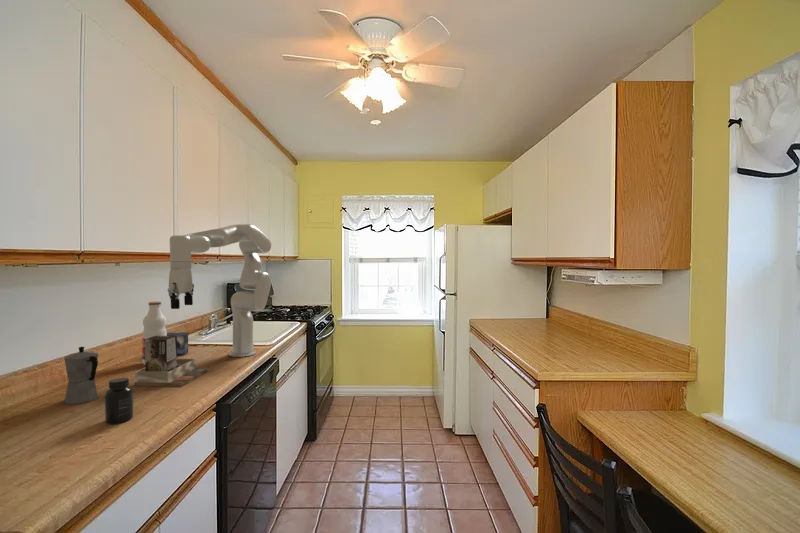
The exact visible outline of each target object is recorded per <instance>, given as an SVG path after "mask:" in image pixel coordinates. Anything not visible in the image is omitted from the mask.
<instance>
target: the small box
mask: <svg viewBox="0 0 800 533" xmlns="http://www.w3.org/2000/svg"><path fill="white" fill-rule="evenodd" d="M167 336H177V357H178V356H186V355H187V354H189V332H186V331H185V332H167Z"/></svg>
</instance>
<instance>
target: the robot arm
mask: <svg viewBox="0 0 800 533" xmlns="http://www.w3.org/2000/svg"><path fill="white" fill-rule="evenodd" d="M236 243H238V247H239V249H240V252H241V254H242V255H243V259H244V263H243V267H242V270H241V275H240V279H239V287H240V288H241V289H243V290H248V291H237V292H235V293H234V294H232V295H231V298H230V306H231V311H232V351H230V352H229V354H228V356H230V357H234V358H241V357H242V358H244V357H245V356H246V357H249V356H251V357H252V356H253V355H256V354H257V350H256V349H254V345H255V343H254V317H253V314H252V312H261V311H263V310H264V309H265V307H266V306H267V302H268V298H269V295H270V290H271V286H272V278H271V275H270V274H269V273H268V272H265V271H262V266H263V265H262V264H263V262H262V260H261V257H260V255H259V254H267V253H269V251H270V250H272V242H271V240H270V238H269V237H268V236H267V235H266V234H265V233H264V232H263V231H261V230H260V229H259V228H258V227H256V226H255V225H253V224H248V223H247V224H246V223H243V224H232V225H226V226H224V227H219V228H214V229H208V230H204V231H203V230H202V231H197V232H191V233H187V234H183V235H181V234H180V235H176V234H175V235H172V236H170V237H169V260H170V263H169V264H170V265H169V266H170V270H169V276H168V288H167V293H168V296H169V300H170V309H171V310H178V309H180V305H181V304H180V298H179V297H180V295H181V294H184V296H183V297H184V298H183V300H184V306H193V304H194V302H193V300H194V299H193V297H194V296H193V295H194V291H195V290H194V289H195V284H194V283H193V274H192V270H191V269H192V253H193V254H202V253H205V252H208V251H209V249H211V248H222V247H226V246H229V245H232V244H236Z"/></svg>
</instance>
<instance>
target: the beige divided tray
mask: <svg viewBox="0 0 800 533" xmlns="http://www.w3.org/2000/svg"><path fill="white" fill-rule="evenodd" d="M197 361H198V360H197V358H177V368H175V369H173V370H171V371H169V372H162V371H145V367H143V368H141V369H139V370H136V371H134V386H135V387H137V386H139V387H183V386H185V385H187V384H189V383H190V382H192V381H194V380H196V379H197V378H199V377H200V376H201V377H202V376H203V375H204V374H206V373H209V367H197V365H198V364H197V363H198V362H197Z"/></svg>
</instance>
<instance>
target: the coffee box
mask: <svg viewBox="0 0 800 533" xmlns="http://www.w3.org/2000/svg"><path fill="white" fill-rule="evenodd" d="M177 359H178V356H177V336H153V337H150V338H147V339H145V365H144V366H145V367H144V368H145V371H162V372H169V371H171V370H173V369H175V368H177Z"/></svg>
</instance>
